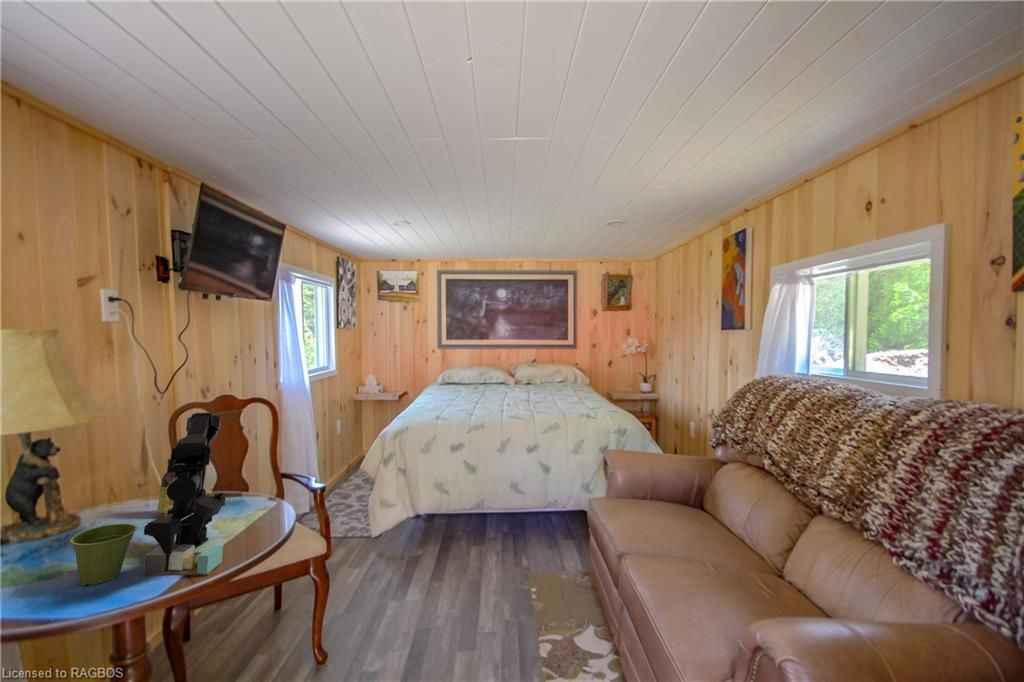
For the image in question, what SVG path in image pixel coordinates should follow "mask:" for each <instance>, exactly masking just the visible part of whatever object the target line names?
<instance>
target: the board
mask: <svg viewBox="0 0 1024 682" xmlns="http://www.w3.org/2000/svg"><path fill="white" fill-rule="evenodd" d="M220 564H221V565H222V562H221V563H220ZM220 564H219V565H220ZM219 565H217V566H219ZM221 565H220V566H221ZM217 566H216V567H217ZM220 566H219V567H220ZM216 567H215V568H216ZM197 568H198V566H196V567H195V568H194V569H192V570H168V569H166V571H165V572H164V573H156V572H144V571H143V574H144V575H163V576H164V575H167V576H169V575H174V576H175V575H176V576H196V575H195V574H199V573H197ZM215 568H213V569H215ZM217 568H218V567H217ZM217 568H216V569H217ZM213 569H212V570H213ZM216 569H215V570H216ZM212 570H211V571H212ZM211 571H210V572H211ZM210 572H208V573H210ZM212 572H213V571H212ZM212 572H211V573H212ZM208 573H207V574H208ZM211 573H210V574H211ZM178 574H179V575H178ZM193 574H194V575H193Z"/></svg>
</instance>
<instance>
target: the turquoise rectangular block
mask: <svg viewBox="0 0 1024 682" xmlns="http://www.w3.org/2000/svg"><path fill="white" fill-rule="evenodd" d="M223 551H224V545H223V544H214V545H211V547H209V548H208V549H206V550H205V551H203V552H201V554H200V555H199V557H198V568H197V573H199V574H207V573H208V572H210V571H211V570H212V569H213V568H215V567H216V566H217V565H219V564H220V563H221V564H222V561H223Z"/></svg>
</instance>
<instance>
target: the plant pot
mask: <svg viewBox="0 0 1024 682" xmlns="http://www.w3.org/2000/svg"><path fill="white" fill-rule="evenodd" d="M138 529H139V528H138V525H136V524H134V523H127V522H126V523H124V522H123V523H121V522H120V523H111V524H106V525H101V526H96V527H93V528H89V529H87V530H83V531H81V532H79V533H77V534H76V535H74V536H72V537H71V538H70V539H69V540H70V541H69V542H70V544H71V545H72V546H73V552H75V559H76V560H75V561H76V568H77V577H78V584H80V585H81V586H85V585H90V586H91V585H98V584H101V583H105V582H107V581H110V580H112V579H114V578H115V577H116V576H118V575H120V574H121V570H122V567H123V564H124V562H125V560H126V555H127V552H128V549H129V545H130V542H131V541H132V539H133V536H134V533H136V532H137V530H138Z"/></svg>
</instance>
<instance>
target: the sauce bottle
mask: <svg viewBox="0 0 1024 682" xmlns="http://www.w3.org/2000/svg"><path fill="white" fill-rule="evenodd" d="M170 458H171V457H168V458H167V468H166V472H165V474H164V475H163V476H162V478H161V483H160V488H159V489H160V490H159V496H158V505H157V518H159V517H173V514H167V513H168V510H169V509H171V508H172V506H173V500H171V499H169V497H168V496H167V488H168V486H169V485H170V483H171V482H172V480H173V479H174V477H175V472H171V473H168V468H169V463H170ZM175 461H176V460H175ZM175 461H174V465H183V464H175ZM174 465H173V468H174Z"/></svg>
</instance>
